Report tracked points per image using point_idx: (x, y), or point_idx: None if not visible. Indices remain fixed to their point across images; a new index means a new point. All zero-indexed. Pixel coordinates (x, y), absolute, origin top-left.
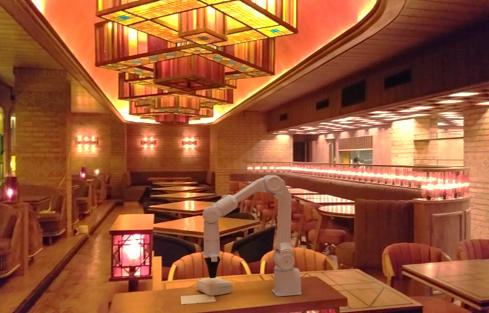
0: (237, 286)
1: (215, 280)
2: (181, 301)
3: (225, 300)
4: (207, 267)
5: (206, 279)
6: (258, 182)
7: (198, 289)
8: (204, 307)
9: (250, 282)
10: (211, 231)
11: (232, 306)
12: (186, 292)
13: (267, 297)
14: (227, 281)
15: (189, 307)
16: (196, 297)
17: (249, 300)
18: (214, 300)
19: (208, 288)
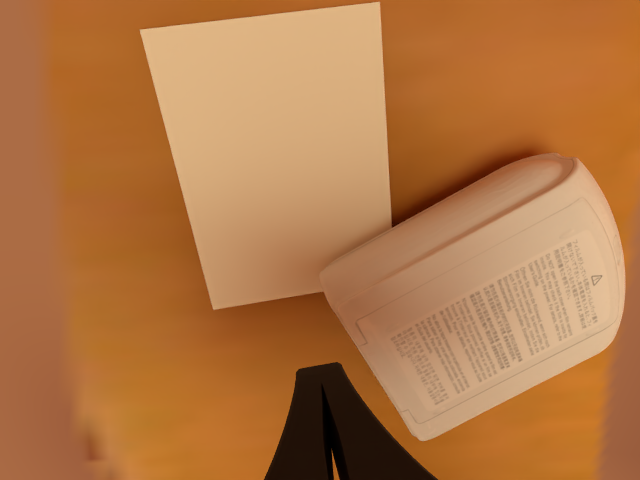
0: (526, 406)
1: (493, 340)
2: (217, 25)
3: (245, 360)
4: (374, 443)
5: (553, 263)
6: None
7: (506, 167)
8: (85, 237)
9: (578, 462)
10: None
11: (117, 405)
12: (507, 56)
13: None
14: (446, 421)
15: (76, 115)
16: (320, 160)
17: (234, 477)
18: (228, 299)
19: (337, 282)
